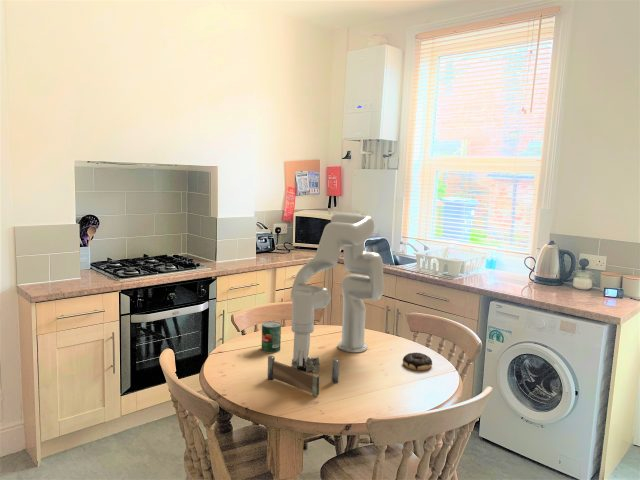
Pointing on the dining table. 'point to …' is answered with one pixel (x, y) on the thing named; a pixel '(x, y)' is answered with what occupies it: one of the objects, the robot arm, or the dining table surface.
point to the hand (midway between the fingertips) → (301, 377)
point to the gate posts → (334, 369)
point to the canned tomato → (271, 336)
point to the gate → (296, 378)
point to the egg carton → (309, 364)
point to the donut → (417, 361)
